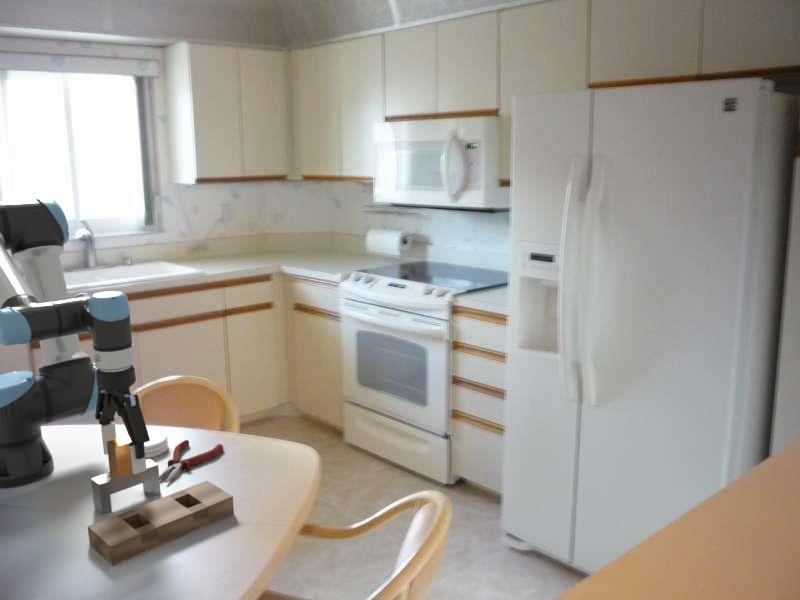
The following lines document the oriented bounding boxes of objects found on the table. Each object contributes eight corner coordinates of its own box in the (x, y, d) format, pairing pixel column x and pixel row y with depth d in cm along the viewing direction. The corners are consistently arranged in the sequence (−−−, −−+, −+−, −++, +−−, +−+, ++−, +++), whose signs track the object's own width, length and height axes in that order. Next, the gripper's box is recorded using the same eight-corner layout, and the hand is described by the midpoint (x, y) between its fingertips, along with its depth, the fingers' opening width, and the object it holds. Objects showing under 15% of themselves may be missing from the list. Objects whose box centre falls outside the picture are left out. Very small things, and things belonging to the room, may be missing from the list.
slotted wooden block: (89, 544, 141) (87, 526, 140) (208, 497, 159) (207, 480, 158) (112, 566, 134) (110, 546, 133) (233, 513, 152) (232, 496, 151)
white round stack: (175, 451, 182) (174, 438, 181) (136, 463, 175) (135, 450, 174) (157, 439, 189) (156, 426, 188) (119, 450, 182) (118, 437, 181)
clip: (94, 508, 154) (87, 447, 151) (151, 487, 163) (146, 429, 160) (102, 515, 151) (96, 453, 148) (160, 493, 160) (155, 434, 157)
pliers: (138, 483, 166) (137, 473, 165) (184, 447, 185) (183, 437, 184) (183, 490, 163) (183, 479, 163) (225, 452, 182) (225, 442, 182)
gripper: (72, 358, 156) (82, 450, 161) (125, 384, 139) (135, 486, 144) (106, 350, 161) (115, 440, 166) (161, 375, 144) (170, 474, 149)
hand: (124, 462), depth 155 cm, fingers open, 13 cm apart
